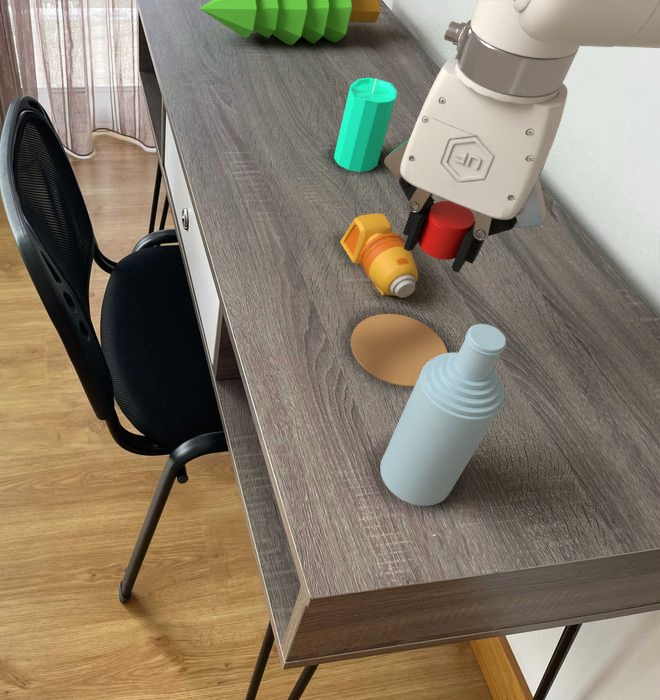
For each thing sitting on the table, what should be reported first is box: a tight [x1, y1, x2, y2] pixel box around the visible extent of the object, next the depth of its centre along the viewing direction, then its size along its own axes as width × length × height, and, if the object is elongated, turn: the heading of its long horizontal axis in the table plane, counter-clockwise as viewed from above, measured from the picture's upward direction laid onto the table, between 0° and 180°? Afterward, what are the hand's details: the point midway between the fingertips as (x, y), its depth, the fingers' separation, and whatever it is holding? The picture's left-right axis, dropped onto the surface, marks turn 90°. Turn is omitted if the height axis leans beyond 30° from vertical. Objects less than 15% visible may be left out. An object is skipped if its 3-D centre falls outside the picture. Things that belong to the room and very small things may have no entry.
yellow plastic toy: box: [339, 212, 419, 298], centre depth 82 cm, size 5×6×12 cm
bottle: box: [379, 323, 507, 507], centre depth 59 cm, size 6×6×18 cm
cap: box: [418, 200, 476, 261], centre depth 65 cm, size 4×4×4 cm
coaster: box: [350, 313, 449, 388], centre depth 76 cm, size 10×10×1 cm
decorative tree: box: [198, 0, 381, 46], centre depth 118 cm, size 11×12×30 cm
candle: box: [333, 77, 398, 173], centre depth 95 cm, size 6×6×12 cm
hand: (436, 251), depth 66 cm, fingers closed on cap, 3 cm apart
